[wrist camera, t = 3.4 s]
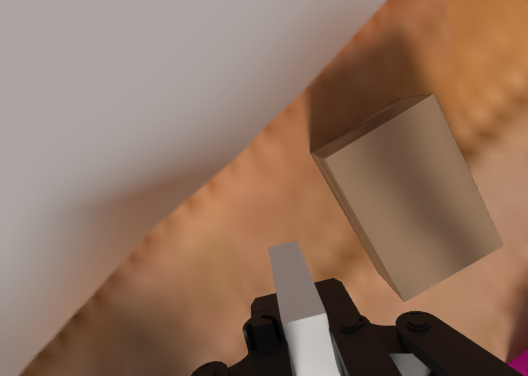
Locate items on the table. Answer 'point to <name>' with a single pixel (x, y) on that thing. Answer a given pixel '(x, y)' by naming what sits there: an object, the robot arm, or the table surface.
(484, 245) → the walnut block
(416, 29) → the table surface
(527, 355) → the magenta arch bracket
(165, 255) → the table surface
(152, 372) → the table surface
